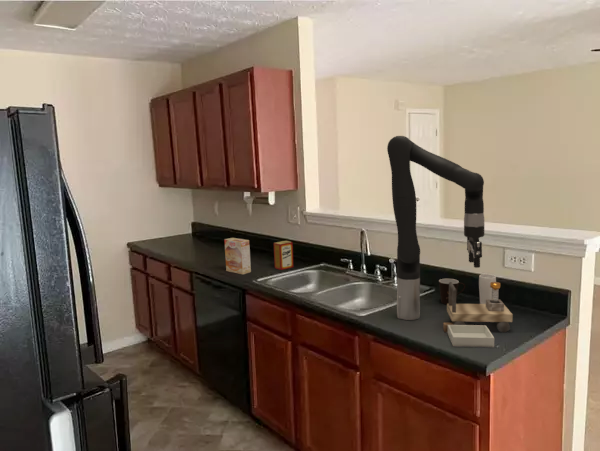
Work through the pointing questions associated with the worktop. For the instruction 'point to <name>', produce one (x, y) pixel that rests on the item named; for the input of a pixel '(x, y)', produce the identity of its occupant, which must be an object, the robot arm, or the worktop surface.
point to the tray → (470, 336)
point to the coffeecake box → (237, 255)
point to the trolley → (478, 312)
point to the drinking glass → (485, 287)
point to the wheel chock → (446, 326)
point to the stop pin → (495, 291)
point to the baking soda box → (283, 255)
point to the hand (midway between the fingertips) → (474, 264)
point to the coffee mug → (445, 289)
